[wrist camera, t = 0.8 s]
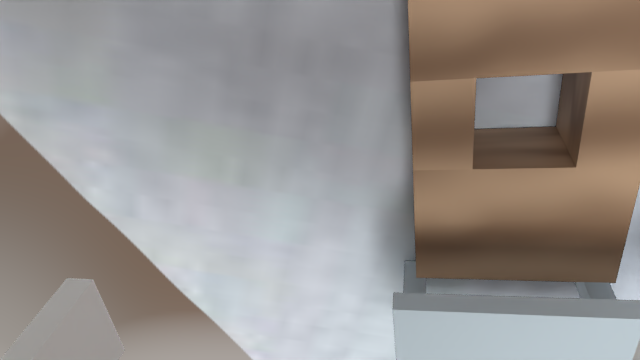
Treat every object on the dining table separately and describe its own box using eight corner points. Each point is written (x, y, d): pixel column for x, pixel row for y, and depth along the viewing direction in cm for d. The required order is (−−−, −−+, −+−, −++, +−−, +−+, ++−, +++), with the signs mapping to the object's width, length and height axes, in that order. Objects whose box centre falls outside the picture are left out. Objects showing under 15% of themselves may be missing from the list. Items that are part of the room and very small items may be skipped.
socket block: (409, -24, 28) (407, -4, 24) (648, -48, 26) (691, -29, 22) (416, 231, 38) (416, 277, 33) (592, 232, 35) (615, 282, 31)
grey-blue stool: (400, 180, 35) (392, 309, 25) (620, 177, 33) (710, 322, 22) (405, 276, 40) (399, 417, 30) (597, 281, 37) (663, 439, 27)
